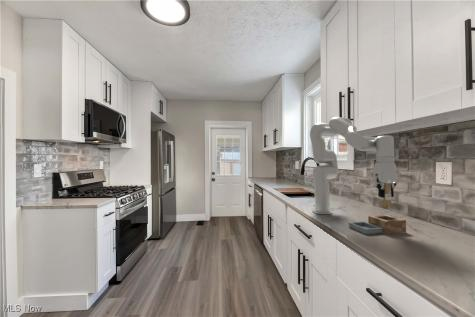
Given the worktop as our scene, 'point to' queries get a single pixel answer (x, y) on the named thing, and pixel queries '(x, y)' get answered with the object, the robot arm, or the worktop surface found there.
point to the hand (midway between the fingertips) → (385, 196)
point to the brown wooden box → (388, 223)
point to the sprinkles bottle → (387, 195)
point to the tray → (366, 228)
